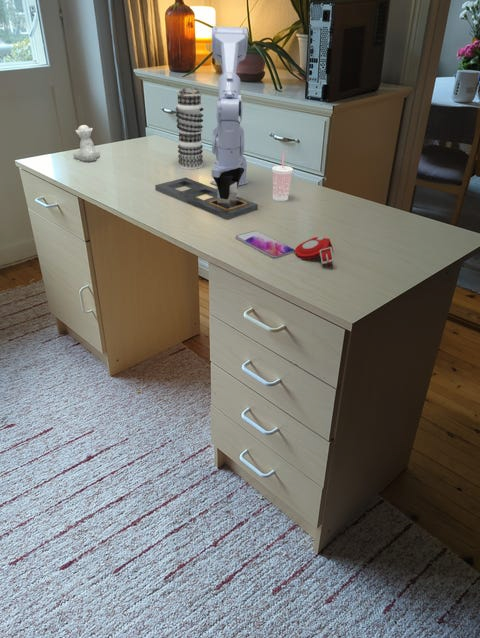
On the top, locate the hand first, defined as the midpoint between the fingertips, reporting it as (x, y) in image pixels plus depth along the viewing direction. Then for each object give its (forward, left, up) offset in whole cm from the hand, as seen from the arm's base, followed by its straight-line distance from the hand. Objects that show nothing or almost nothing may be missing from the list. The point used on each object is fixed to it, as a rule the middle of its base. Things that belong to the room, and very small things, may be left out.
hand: (228, 196), depth 145 cm
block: (0, 0, -3) cm, 3 cm away
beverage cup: (-18, +4, -4) cm, 19 cm away
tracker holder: (+6, +37, -4) cm, 37 cm away
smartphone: (+10, +24, -4) cm, 26 cm away
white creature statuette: (+4, -68, -4) cm, 68 cm away
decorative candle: (-19, -39, -4) cm, 44 cm away
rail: (0, -10, -4) cm, 11 cm away
